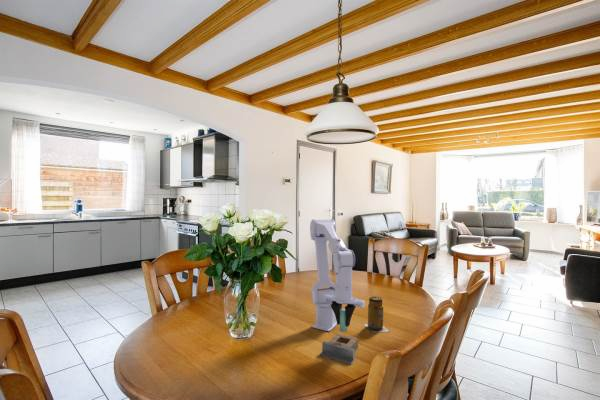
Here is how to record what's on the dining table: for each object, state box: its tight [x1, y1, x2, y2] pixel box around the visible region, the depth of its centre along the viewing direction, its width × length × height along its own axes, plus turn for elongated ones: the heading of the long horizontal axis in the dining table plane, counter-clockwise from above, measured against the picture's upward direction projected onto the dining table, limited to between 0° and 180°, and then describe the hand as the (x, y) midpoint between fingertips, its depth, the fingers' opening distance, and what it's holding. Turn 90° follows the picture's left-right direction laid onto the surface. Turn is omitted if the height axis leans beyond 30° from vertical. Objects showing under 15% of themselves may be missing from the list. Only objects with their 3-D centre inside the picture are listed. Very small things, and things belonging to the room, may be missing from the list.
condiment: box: [363, 296, 390, 334], centre depth 125 cm, size 7×8×12 cm
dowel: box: [339, 308, 348, 333], centre depth 106 cm, size 3×3×7 cm
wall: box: [319, 341, 356, 365], centre depth 101 cm, size 3×11×4 cm, turn 61°
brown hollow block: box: [328, 333, 359, 353], centre depth 106 cm, size 8×8×4 cm
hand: (343, 324), depth 106 cm, fingers closed on dowel, 3 cm apart
